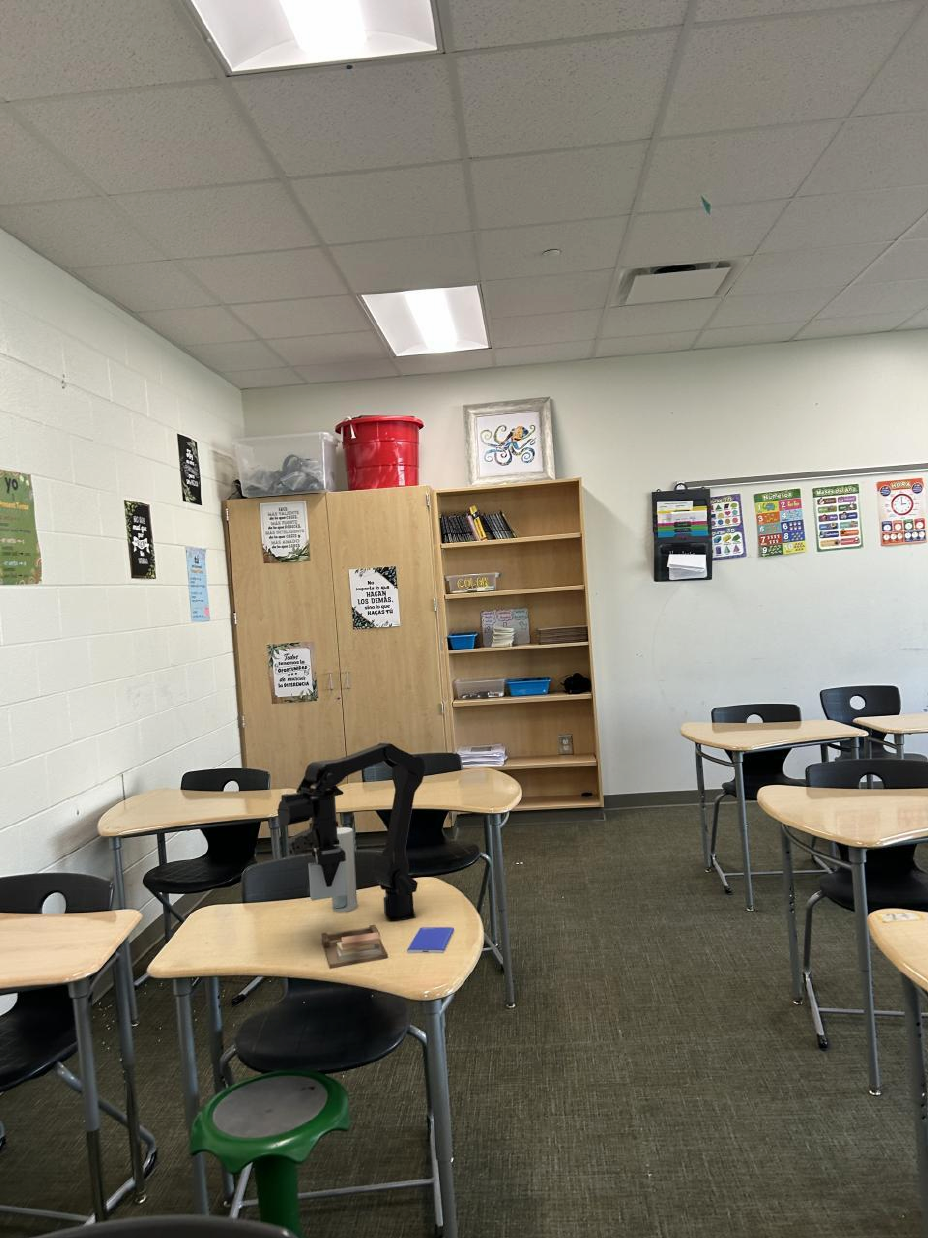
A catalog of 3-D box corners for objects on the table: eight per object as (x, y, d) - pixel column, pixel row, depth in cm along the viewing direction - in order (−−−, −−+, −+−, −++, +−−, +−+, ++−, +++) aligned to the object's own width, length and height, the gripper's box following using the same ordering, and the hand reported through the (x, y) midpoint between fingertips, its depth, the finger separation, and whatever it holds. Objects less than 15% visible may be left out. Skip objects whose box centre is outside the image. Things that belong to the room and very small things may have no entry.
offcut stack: (378, 945, 179) (377, 930, 179) (382, 954, 174) (381, 938, 174) (336, 953, 177) (335, 937, 177) (339, 961, 172) (338, 945, 172)
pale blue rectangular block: (344, 892, 189) (342, 857, 190) (346, 895, 187) (344, 860, 187) (310, 897, 187) (308, 863, 187) (311, 900, 185) (309, 865, 185)
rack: (375, 933, 189) (374, 924, 189) (387, 958, 174) (387, 947, 174) (322, 943, 185) (321, 933, 185) (329, 968, 171) (329, 958, 171)
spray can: (326, 910, 207) (321, 832, 208) (346, 902, 212) (341, 826, 213) (344, 914, 203) (338, 834, 204) (363, 906, 208) (357, 828, 208)
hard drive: (419, 927, 188) (406, 948, 176) (454, 927, 187) (443, 948, 175) (420, 933, 188) (407, 956, 176) (454, 933, 187) (444, 956, 175)
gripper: (284, 814, 194) (288, 879, 193) (293, 830, 176) (297, 902, 176) (330, 808, 197) (334, 872, 197) (343, 823, 179) (348, 894, 179)
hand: (328, 885), depth 187 cm, fingers closed on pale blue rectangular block, 2 cm apart
